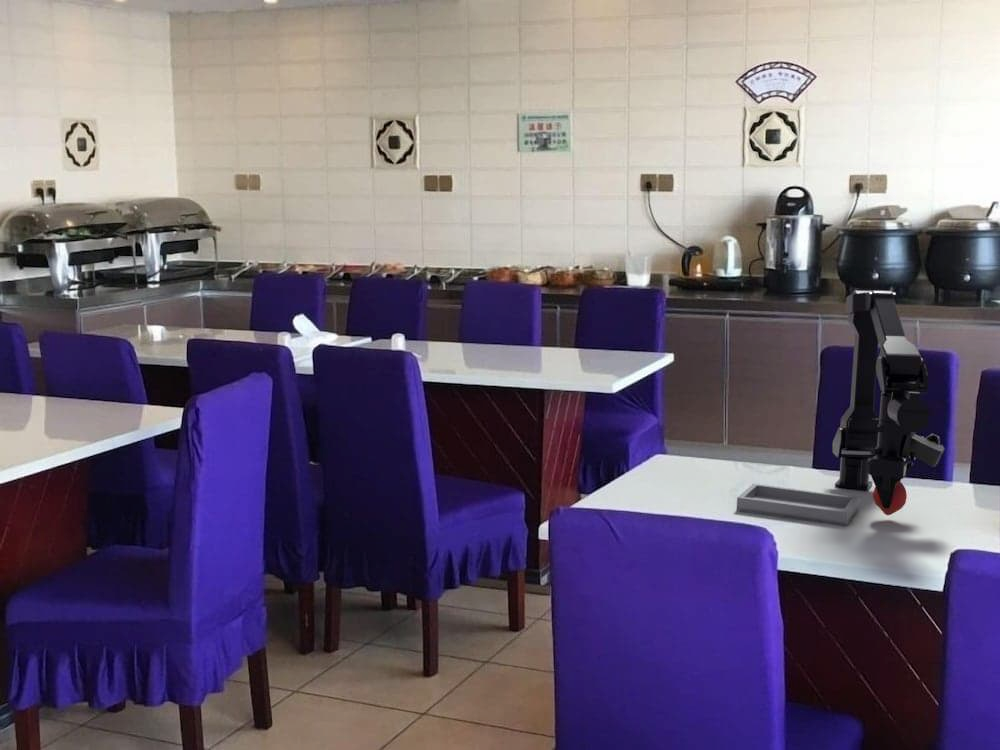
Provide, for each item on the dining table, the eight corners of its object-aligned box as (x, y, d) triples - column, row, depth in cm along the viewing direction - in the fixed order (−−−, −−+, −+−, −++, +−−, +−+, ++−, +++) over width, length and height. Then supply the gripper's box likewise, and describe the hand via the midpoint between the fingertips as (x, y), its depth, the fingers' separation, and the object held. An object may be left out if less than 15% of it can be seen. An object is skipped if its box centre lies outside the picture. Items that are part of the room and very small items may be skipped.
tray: (752, 496, 235) (753, 483, 235) (857, 510, 227) (858, 497, 226) (736, 510, 224) (737, 497, 224) (846, 526, 216) (847, 512, 215)
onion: (905, 512, 222) (908, 470, 221) (904, 521, 217) (908, 477, 215) (872, 509, 224) (875, 467, 223) (870, 517, 219) (874, 474, 217)
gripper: (937, 434, 206) (929, 523, 208) (948, 416, 222) (941, 498, 225) (869, 427, 210) (863, 514, 213) (885, 410, 227) (879, 490, 230)
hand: (889, 504), depth 220 cm, fingers closed on onion, 6 cm apart
